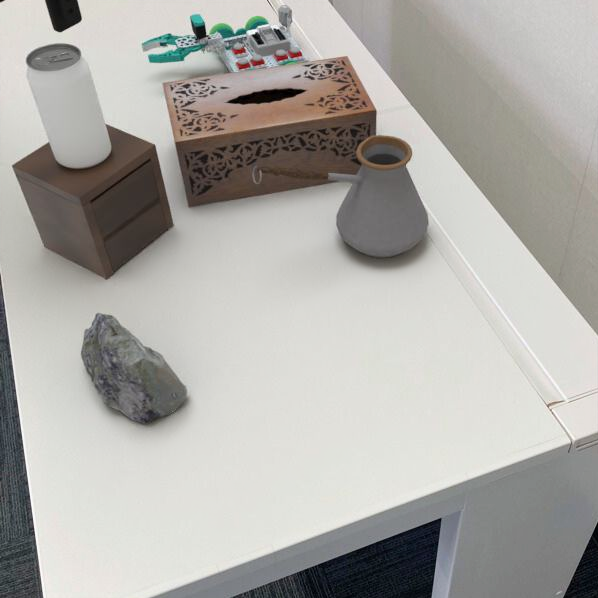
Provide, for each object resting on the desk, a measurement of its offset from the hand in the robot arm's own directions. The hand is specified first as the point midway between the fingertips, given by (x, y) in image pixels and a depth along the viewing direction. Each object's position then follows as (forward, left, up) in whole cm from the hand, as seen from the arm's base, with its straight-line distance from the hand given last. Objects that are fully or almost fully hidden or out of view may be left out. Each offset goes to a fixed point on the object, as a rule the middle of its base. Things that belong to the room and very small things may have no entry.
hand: (34, 13), depth 77 cm
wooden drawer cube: (+1, 0, -29) cm, 29 cm away
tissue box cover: (+9, +24, -29) cm, 39 cm away
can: (+1, 0, -17) cm, 17 cm away
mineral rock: (+20, -15, -29) cm, 38 cm away
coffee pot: (+27, +15, -29) cm, 42 cm away
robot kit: (-12, +40, -29) cm, 50 cm away
